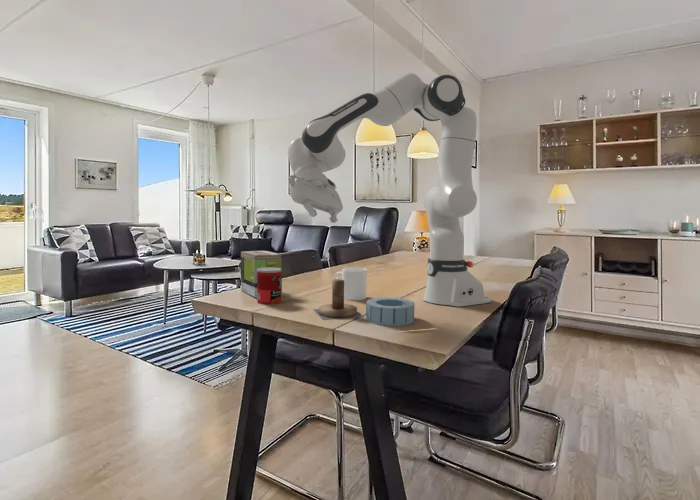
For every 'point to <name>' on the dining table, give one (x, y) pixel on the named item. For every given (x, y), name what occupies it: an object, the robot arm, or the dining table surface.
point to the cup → (353, 283)
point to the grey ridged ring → (390, 311)
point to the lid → (337, 303)
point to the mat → (337, 318)
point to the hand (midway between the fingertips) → (324, 218)
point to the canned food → (269, 285)
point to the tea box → (250, 266)
